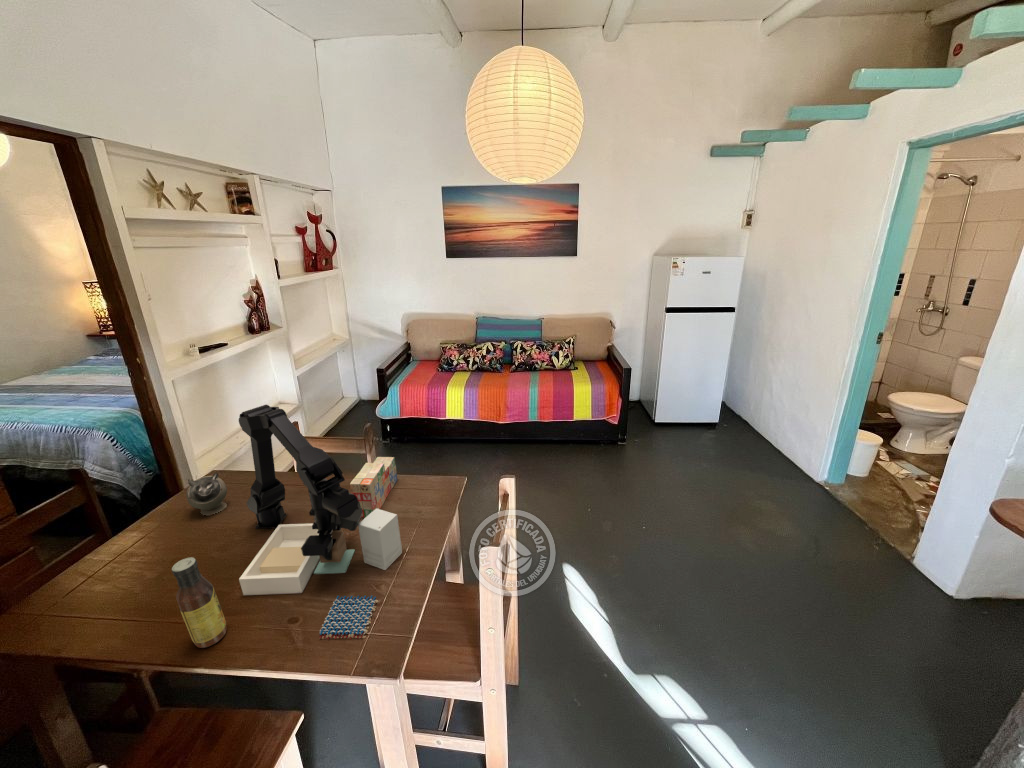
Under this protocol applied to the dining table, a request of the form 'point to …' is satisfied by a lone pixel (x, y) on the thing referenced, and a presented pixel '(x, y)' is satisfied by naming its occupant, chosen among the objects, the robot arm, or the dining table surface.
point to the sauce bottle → (198, 604)
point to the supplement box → (380, 538)
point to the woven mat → (348, 618)
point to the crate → (281, 563)
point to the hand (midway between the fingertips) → (333, 552)
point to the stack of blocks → (374, 483)
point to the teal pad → (335, 564)
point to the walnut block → (336, 547)
